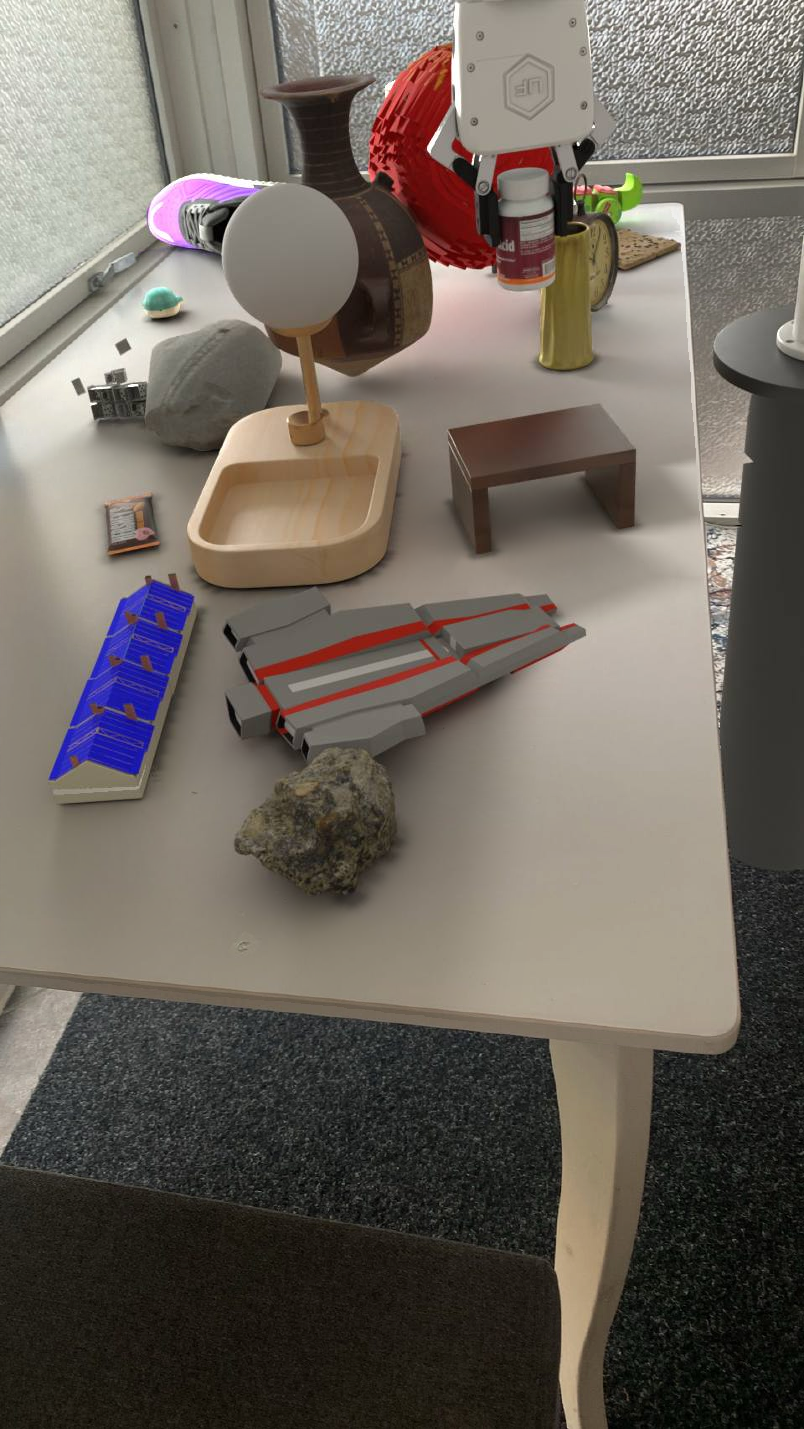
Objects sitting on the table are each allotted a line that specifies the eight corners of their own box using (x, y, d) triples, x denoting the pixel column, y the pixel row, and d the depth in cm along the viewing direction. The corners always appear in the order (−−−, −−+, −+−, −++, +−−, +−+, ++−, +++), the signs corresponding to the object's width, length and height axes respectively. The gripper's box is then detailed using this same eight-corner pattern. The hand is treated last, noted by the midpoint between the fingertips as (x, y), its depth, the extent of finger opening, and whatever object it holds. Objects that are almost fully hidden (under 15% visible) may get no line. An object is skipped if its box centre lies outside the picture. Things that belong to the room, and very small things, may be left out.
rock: (232, 913, 67) (274, 785, 74) (377, 928, 65) (407, 796, 72) (212, 858, 63) (259, 728, 69) (366, 872, 61) (399, 738, 68)
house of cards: (61, 343, 124) (101, 333, 130) (81, 422, 128) (119, 408, 134) (129, 337, 121) (166, 326, 127) (147, 418, 124) (182, 404, 131)
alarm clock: (581, 334, 132) (580, 188, 122) (540, 329, 135) (536, 185, 125) (621, 303, 139) (623, 162, 129) (581, 299, 141) (581, 160, 131)
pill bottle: (489, 281, 94) (483, 173, 89) (541, 270, 95) (538, 162, 89) (511, 297, 90) (506, 185, 85) (565, 285, 91) (563, 174, 86)
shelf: (599, 476, 104) (599, 402, 100) (634, 526, 96) (636, 449, 92) (453, 501, 103) (446, 428, 99) (476, 554, 95) (470, 477, 91)
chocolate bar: (161, 547, 102) (159, 540, 102) (107, 559, 101) (105, 551, 101) (153, 495, 111) (151, 488, 110) (104, 505, 110) (102, 498, 109)
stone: (154, 302, 132) (282, 306, 133) (159, 355, 136) (283, 359, 137) (126, 406, 112) (275, 410, 114) (133, 464, 117) (277, 467, 118)
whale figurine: (141, 323, 153) (134, 295, 150) (147, 306, 158) (140, 278, 156) (183, 318, 153) (176, 290, 150) (188, 300, 158) (182, 273, 156)
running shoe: (151, 177, 179) (101, 203, 169) (313, 163, 168) (271, 189, 158) (169, 246, 185) (122, 275, 175) (327, 237, 174) (287, 267, 164)
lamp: (382, 582, 93) (340, 273, 77) (182, 593, 95) (101, 294, 80) (408, 416, 119) (380, 159, 103) (250, 428, 121) (199, 177, 105)
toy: (580, 129, 141) (650, 103, 114) (482, 300, 148) (526, 313, 120) (424, 18, 135) (459, -38, 107) (330, 202, 142) (339, 193, 114)
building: (145, 800, 75) (130, 755, 72) (56, 805, 75) (38, 762, 73) (199, 611, 93) (188, 570, 90) (127, 617, 93) (115, 576, 91)
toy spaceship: (504, 539, 91) (500, 592, 94) (188, 610, 82) (194, 666, 85) (643, 659, 77) (633, 717, 80) (281, 761, 68) (285, 822, 71)
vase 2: (569, 346, 130) (567, 217, 121) (605, 359, 126) (606, 226, 117) (528, 361, 128) (523, 231, 119) (563, 375, 123) (561, 241, 115)
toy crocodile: (516, 240, 163) (514, 195, 159) (506, 230, 168) (505, 187, 165) (648, 222, 164) (649, 177, 160) (634, 213, 169) (635, 169, 166)
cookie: (625, 271, 149) (626, 263, 148) (558, 255, 156) (558, 248, 155) (683, 247, 154) (683, 239, 154) (615, 232, 162) (615, 225, 161)
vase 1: (435, 407, 120) (407, 94, 101) (259, 420, 122) (200, 116, 104) (443, 331, 138) (420, 52, 119) (289, 343, 140) (243, 72, 121)
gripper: (405, -9, 75) (429, 267, 87) (649, -44, 76) (642, 234, 88) (390, -19, 81) (414, 241, 93) (617, -51, 82) (613, 210, 94)
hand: (525, 235), depth 90 cm, fingers closed on pill bottle, 4 cm apart
